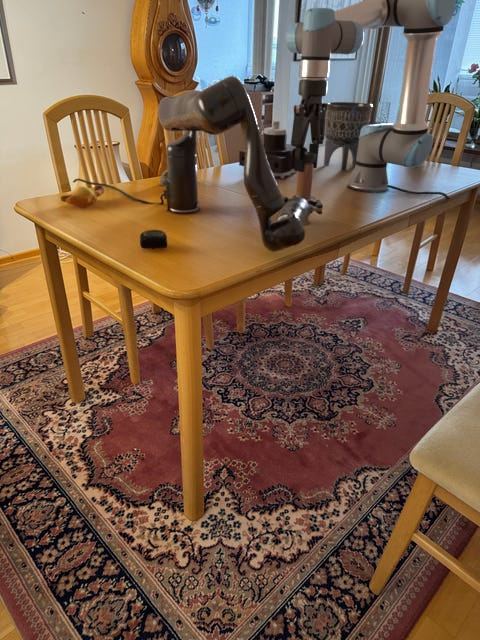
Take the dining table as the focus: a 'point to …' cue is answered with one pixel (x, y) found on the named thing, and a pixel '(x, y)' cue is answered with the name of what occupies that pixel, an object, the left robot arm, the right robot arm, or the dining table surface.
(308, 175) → the pinkish brown rounded rod
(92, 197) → the toy
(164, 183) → the rock
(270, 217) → the left robot arm
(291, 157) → the mechanical component
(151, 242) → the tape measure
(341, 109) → the planter
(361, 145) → the right robot arm
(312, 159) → the lid
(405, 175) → the dining table surface
